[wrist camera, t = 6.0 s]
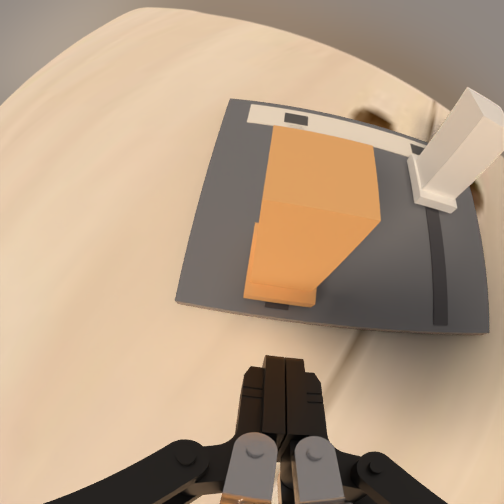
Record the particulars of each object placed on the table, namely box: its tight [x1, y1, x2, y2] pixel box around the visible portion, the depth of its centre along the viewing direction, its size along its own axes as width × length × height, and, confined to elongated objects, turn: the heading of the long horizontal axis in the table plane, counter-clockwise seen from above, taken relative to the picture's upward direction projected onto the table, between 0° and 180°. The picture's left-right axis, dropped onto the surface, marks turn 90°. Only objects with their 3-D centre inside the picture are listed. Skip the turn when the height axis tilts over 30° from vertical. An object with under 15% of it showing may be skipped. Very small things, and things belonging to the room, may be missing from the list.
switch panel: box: [175, 99, 489, 335], centre depth 20 cm, size 24×18×1 cm
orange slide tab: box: [243, 125, 381, 308], centre depth 13 cm, size 4×4×10 cm
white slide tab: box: [407, 87, 504, 213], centre depth 16 cm, size 4×4×10 cm
